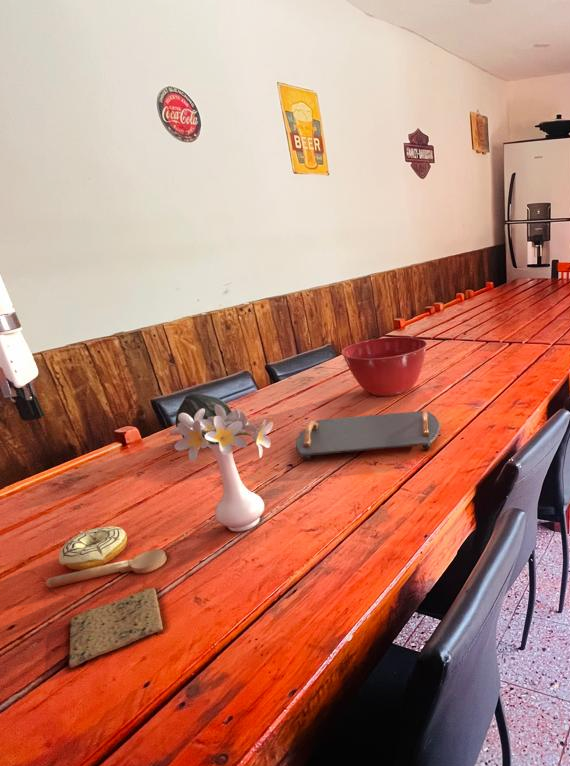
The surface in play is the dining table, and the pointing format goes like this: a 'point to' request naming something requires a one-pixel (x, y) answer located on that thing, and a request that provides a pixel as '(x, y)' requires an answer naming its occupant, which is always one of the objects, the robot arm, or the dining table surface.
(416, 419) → the serving tray
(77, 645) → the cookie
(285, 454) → the dining table surface
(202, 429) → the flower vase
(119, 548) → the decorated donut
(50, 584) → the spoon
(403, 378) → the mixing bowl
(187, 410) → the squash
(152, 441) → the dining table surface
